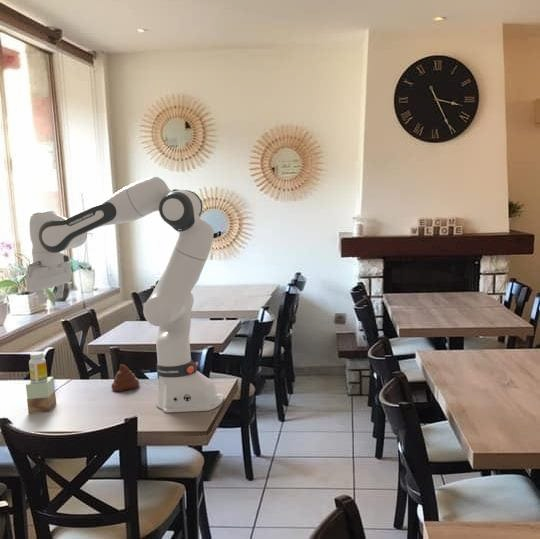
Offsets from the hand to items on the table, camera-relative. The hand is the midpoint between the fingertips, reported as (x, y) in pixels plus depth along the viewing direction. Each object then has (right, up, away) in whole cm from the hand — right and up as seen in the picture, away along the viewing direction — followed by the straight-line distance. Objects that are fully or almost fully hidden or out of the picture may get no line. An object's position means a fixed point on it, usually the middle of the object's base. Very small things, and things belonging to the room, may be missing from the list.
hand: (51, 300), depth 195 cm
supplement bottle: (-5, -28, +2) cm, 28 cm away
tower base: (-4, -37, +3) cm, 38 cm away
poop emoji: (+20, -34, +20) cm, 44 cm away
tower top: (-5, -33, +3) cm, 33 cm away
